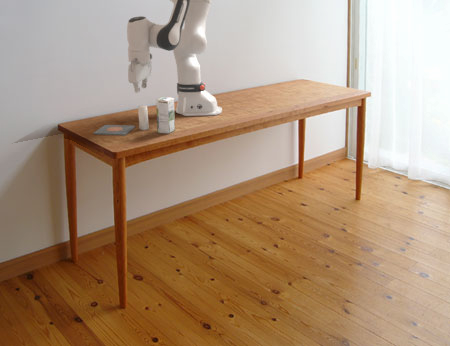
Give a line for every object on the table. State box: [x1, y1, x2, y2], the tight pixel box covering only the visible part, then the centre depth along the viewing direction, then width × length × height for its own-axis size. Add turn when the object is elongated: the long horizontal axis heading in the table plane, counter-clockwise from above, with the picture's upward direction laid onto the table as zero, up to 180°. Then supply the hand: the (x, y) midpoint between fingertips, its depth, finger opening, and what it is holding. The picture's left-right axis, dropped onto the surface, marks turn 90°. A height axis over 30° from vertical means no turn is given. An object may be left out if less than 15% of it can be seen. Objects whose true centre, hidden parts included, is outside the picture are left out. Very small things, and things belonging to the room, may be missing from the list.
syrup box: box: [155, 96, 176, 134], centre depth 233 cm, size 6×6×14 cm
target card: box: [93, 124, 136, 136], centre depth 238 cm, size 14×13×1 cm
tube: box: [137, 105, 150, 131], centre depth 238 cm, size 4×4×10 cm
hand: (140, 90), depth 234 cm, fingers open, 8 cm apart
